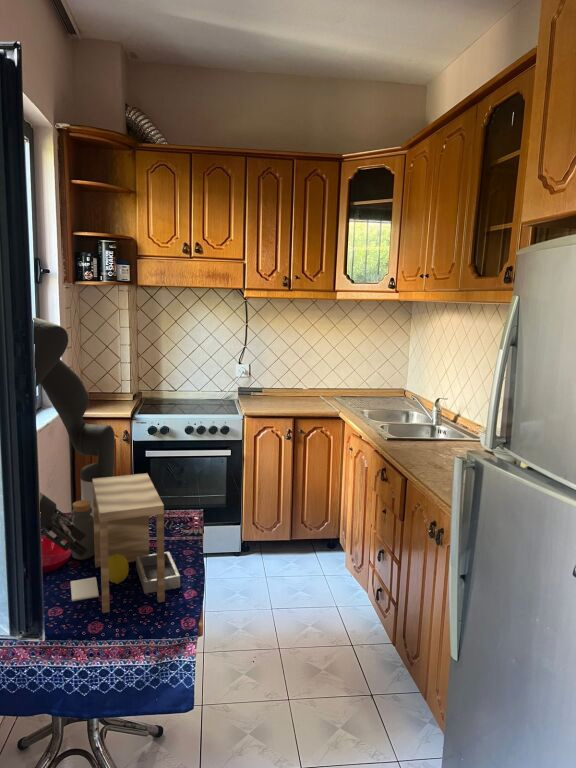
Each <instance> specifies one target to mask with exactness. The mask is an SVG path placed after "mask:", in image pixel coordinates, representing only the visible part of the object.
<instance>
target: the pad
mask: <svg viewBox="0 0 576 768" xmlns="http://www.w3.org/2000/svg"><path fill="white" fill-rule="evenodd" d="M70 593H71V602H76V601H83V600H87V599H93V598H98V597H100V596H99V589H98V581H97V577H96V576H94V577H89V578H81V579H77V580H76V579H75V580H70Z"/></svg>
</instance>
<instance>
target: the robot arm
mask: <svg viewBox="0 0 576 768" xmlns="http://www.w3.org/2000/svg"><path fill="white" fill-rule="evenodd" d="M32 317H33V316H32ZM33 320H34V344H35V368H36V388H37V387H38V386H39V385H40V386H41V387H42V389H43V390H44V392H45V394H46V396H47V398H48V400H49V401H50V403H51V405H52V406H53V409H54V410H55V411H56V413H57V414H58V416H59V418H60V420H61V422H62V423H63V425H64V428H65V429H66V432H67V435H68V437H69V439H70V442H71V445H72V447H73V448H74V451H76V453H77V454H79V455H83V456H89V457H90V456H93V457H94V456H95V457H97V462H94V463H91V464H87V465H85V466H84V467H82V468H81V469H80V494H81V495H80V498H81V500H87V501H90V502H91V506H90V507H91V508H92V513H91V514H90V515H92V516H93V518H94V514H93V483H92V479H94V478H104V477H114V467H115V443H116V441H115V439H116V438H115V431H114V428H113V427H112V426H111V425H109V424H94V423H87V422H85V420H84V419H83V417H84V415H85V413H86V412H87V410H88V407H89V403H90V398H89V397H90V396H89V393H88V391H87V389H86V387H85V385H84V383H83V381H82V380H81V378H80V377H79V376H78V375H77V374H76V372H75V371H74V370H72V368H70V367H69V366H68V365H67V364H66V363H65V362H64V361H63V360H61V358H62V357H63V355H64V354H65V352H66V349H67V348H68V346H69V345H68V344H69V334H68V332H67V330H66V328H64V327H63V326H61V325H59V324H56V323H54V322H50V321H48V320H45V319H41V318H38V317H33ZM39 492H40V491H39ZM81 500H80V501H81ZM40 512H41V528H40V529H42V528H43V530H45V531H46V534H45V535H44V536H45V537H46V538H47V539H48V540H50V541H51V542H52V543H53V544H54V545H57V546H58V547H59V548H61V549H62V550H63V551H65V552H67V551H68V550H70V551H73V552H75V553H76V554H77V555H79V556H83V555H84V554H85V553H86V552H87V548H86V547H85V546H84V545H82V544H81V543H79V542H78V541H81V540H82V539H83V538H84V537H85V536H86V535H85V533H84V532H83V531H81V530H80V529H79V528H77V527H76V526H74V523H73V522H72V518H70V517H69V516H68V515H66V513H63V512H62V511H61V510H59V509H58V508H57V504H56V502H54V501H53V500H52V499H50V498H49V497H48V496H46V495H45V494H43V493H42V492H40ZM73 537H74V538H75V539H76V540H75V539H74V538H73ZM65 540H66V541H65ZM77 540H78V541H77Z"/></svg>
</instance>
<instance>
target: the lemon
mask: <svg viewBox="0 0 576 768" xmlns="http://www.w3.org/2000/svg"><path fill="white" fill-rule="evenodd" d="M129 568H130V566H129V562H128V561H127V559H126V558H125V557H124V556H123V555H120V554H115V555H113V556H111V557H110V558H109V559H108V570H109V582H111V583H113V584H116V585H119V584H120V583H122V582H123V581H125V579H126V578H127V577H128V575H129Z"/></svg>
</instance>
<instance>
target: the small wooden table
mask: <svg viewBox="0 0 576 768" xmlns="http://www.w3.org/2000/svg"><path fill="white" fill-rule="evenodd" d="M92 483H93V514H94V546H95V554H94V565H95V566H94V567H95V568H99V567H100V576H101V577H100V580H101V581H100V584H101V609H102V610H101V612H102V614H106V613H110V609H111V606H110V583H109V582H110V581H109V570H108V559H109V558H110V557H111V556H113V555H115V554H120V555H123V556H124V557H125V558H126V559H127V561H128V563H131V562H136V557H137V556H143V555H150V516H155V517H156V519H155V520H156V528H155V529H156V530H155V531H156V533H155V534H156V535H155V536H156V553H157V592H156V595H157V596H156V599H157V602H158V603H164V602H165V601H166V600H165V599H166V597H165V596H166V595H165V593H166V592H165V591H166V590H165V576H164V552H165V505H164V503H163V501H162V498H161V497H160V495H159V493H158V491H157V488H155V485H154V483H153V481H152V480H151V477H150V476H149V473H148V472H146V473H135V474H124V475H118V476H117V475H116V476H114V475H113V477H104V478H94V479H92Z"/></svg>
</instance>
